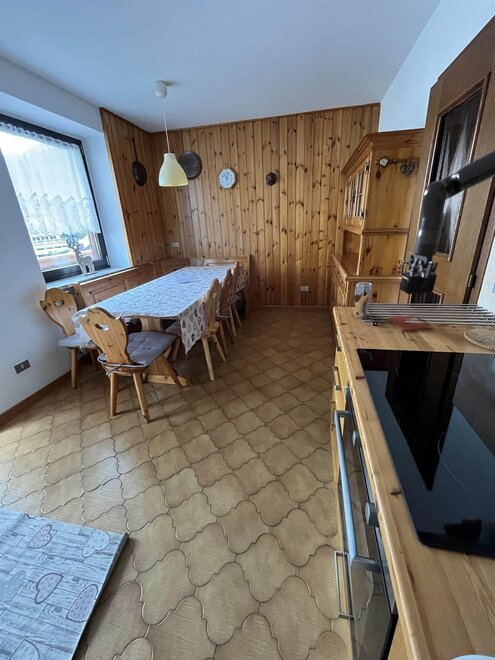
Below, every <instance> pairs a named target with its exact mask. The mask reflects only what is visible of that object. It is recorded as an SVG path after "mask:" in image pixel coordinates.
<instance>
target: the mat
mask: <svg viewBox="0 0 495 660" xmlns="http://www.w3.org/2000/svg"><path fill="white" fill-rule="evenodd" d="M413 316H414V315H408V316H407V315H405V316H396V317H387V320H388V321H390V322H391V323H392V324H393V325H394V326H396V327H397V329H399V330H400V331H402V332H410V331H420V330H431V329H432V327H431V326H430V325H428V324H427V323H425V322H424V323H410V322H405V321H404V320H406V319H411V318H412V317H413Z"/></svg>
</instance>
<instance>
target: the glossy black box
mask: <svg viewBox="0 0 495 660" xmlns="http://www.w3.org/2000/svg"><path fill="white" fill-rule="evenodd" d="M430 274H431V272H430ZM425 275H426V272H425ZM437 277H438V274H436V273H435V274H434V276H433V278H428V282H427V285H426V287H423V288H421V287H420V282H421V278H422V274H421V272H420V270H418V271H417V272H410V271H407V272H402V275H401V281H400V286H399V290H400V291H402V292H404V293H405V294H407V295H415V294H427V293H433V292H434V289H435V285H436V281H437Z"/></svg>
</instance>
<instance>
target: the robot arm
mask: <svg viewBox="0 0 495 660" xmlns="http://www.w3.org/2000/svg"><path fill="white" fill-rule="evenodd" d="M493 177H495V149H494V150H492V151H490V152H488V153H487V154H485V155H482V156H480V157H479V158H477V159H475V160H473V161H471V162H469V163H468V164H466V165H464V166H463V167H461V168H460V169H458V170H457V171H456V172H454V173H452V174H449V175H448V176H446V177H444V178H442V179H440V180H435V181H432V182H431V183H429V184H428V185H427V187H426V188H425V190H424V193H423V196H422V205H421V217H420V222H419V226H418V230H417V233H416V236H415V243H414V247H413V252H412V254H409V257H408V263H407V264H408V265H407V270H408V271H409V272H417V271H420V272H421V274H422V278H421V282H420V287H421V288H423V287H426V285H427V282H428V278H433V276H434V274H436V271H437V268H438V265H439V263H438V261H433V257H434V256H435V255H437V253H438V252H437V250H438V247H439V243H440V239H441V235H442V229H443V224H444V219H445V212H444V209H445V204H446V200H447V201H448V200H449V199H450V198H453V197H454V196H457V195H458V194H460V193H461V192H463V191H465V190H468V189H471V188H473V187H475V186H477V185H479V184H482V183H483V182H485V181H487V180H489V179H491V178H493ZM425 272H426V275H425ZM430 272H431V274H430Z"/></svg>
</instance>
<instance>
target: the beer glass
mask: <svg viewBox="0 0 495 660" xmlns="http://www.w3.org/2000/svg"><path fill="white" fill-rule="evenodd" d="M372 292H373V283H371V282H369V281H359V282H356V284H355V288H354V310H353V316H354V317H355V318H358V319H364V318H367V317H368V307H369V304H370V301H371V298H372Z"/></svg>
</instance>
